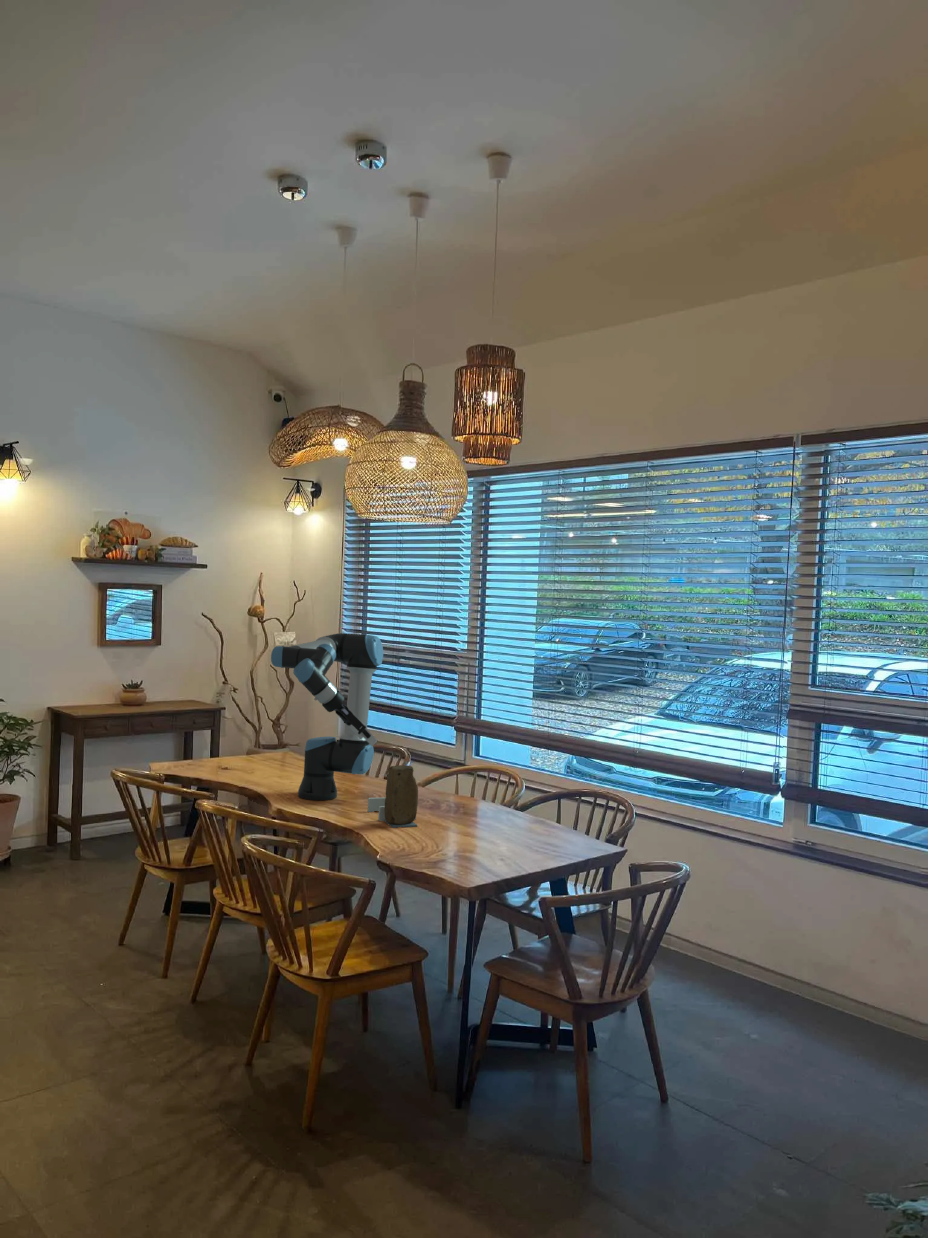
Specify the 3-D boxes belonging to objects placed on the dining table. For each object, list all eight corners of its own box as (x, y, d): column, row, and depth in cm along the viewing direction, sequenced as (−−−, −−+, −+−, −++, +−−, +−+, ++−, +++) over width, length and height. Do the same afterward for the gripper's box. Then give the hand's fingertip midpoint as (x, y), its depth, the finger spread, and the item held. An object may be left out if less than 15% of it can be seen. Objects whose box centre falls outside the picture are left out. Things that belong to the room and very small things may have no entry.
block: (390, 826, 308) (394, 768, 308) (382, 820, 315) (385, 764, 314) (418, 823, 313) (422, 767, 313) (409, 818, 320) (413, 763, 319)
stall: (367, 811, 329) (369, 787, 329) (403, 810, 334) (404, 786, 334) (379, 821, 316) (380, 796, 316) (415, 819, 322) (417, 794, 321)
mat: (384, 821, 316) (384, 819, 316) (408, 820, 320) (408, 818, 320) (392, 828, 308) (392, 826, 308) (417, 826, 312) (417, 825, 312)
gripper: (312, 699, 315) (351, 741, 321) (330, 710, 292) (371, 754, 299) (328, 685, 317) (366, 726, 323) (347, 694, 294) (387, 738, 301)
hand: (368, 740), depth 311 cm, fingers open, 13 cm apart
